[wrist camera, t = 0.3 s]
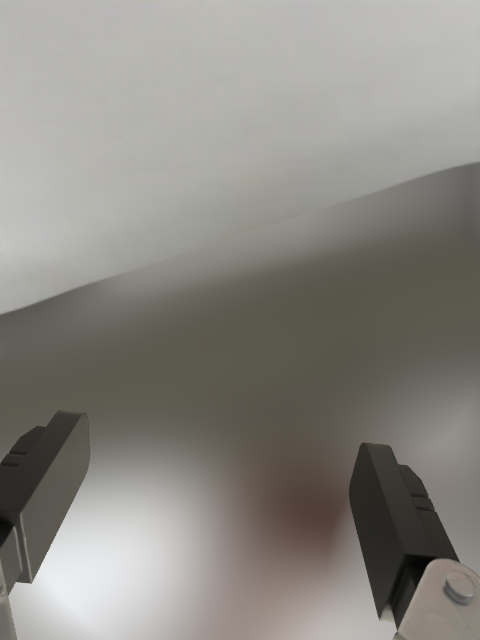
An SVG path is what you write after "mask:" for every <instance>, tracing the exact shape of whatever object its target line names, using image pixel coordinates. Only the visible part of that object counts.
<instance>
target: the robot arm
mask: <svg viewBox="0 0 480 640" xmlns="http://www.w3.org/2000/svg"><path fill="white" fill-rule="evenodd" d="M89 461H90V445H89V428H88V416H87V414H86V413H83V412H73V411H64V410H59V411H58V412H57V413H56V414H55V416H54V417H53V418H52V420H51V421H50V422H49V424H48V425H47V427H41V426H36V427H35V428H33V429H32V430H30V431H29V432H27V433H26V434H24V435H23V436H21V437H20V438H19V440H18V441H17V442H16V444H15V445H14V446H13V447H12V449H11V450H10V453H9V454H7V455H6V457H5V458H4V459H3V460H2V462H1V464H0V640H17V637H16V632H15V628H14V623H13V618H12V613H11V608H10V603H9V598H8V595H9V594H10V592H11V590H12V588H13V586H14V584H15V582H21V583H32V582H33V580H34V578H35V576H36V574H37V572H38V570H39V568H40V566H41V564H42V562H43V560H44V558H45V556H46V554H47V552H48V550H49V548H50V546H51V544H52V542H53V540H54V538H55V536H56V533H57V532H58V530H59V528H60V526H61V524H62V522H63V520H64V518H65V516H66V514H67V512H68V510H69V508H70V506H71V504H72V502H73V500H74V498H75V496H76V494H77V492H78V490H79V487H80V486H81V484H82V482H83V480H84V478H85V475H86V473H87V470H88V466H89ZM349 499H350V506H351V509H352V514H353V518H354V522H355V526H356V530H357V534H358V537H359V541H360V546H361V550H362V553H363V558H364V562H365V566H366V570H367V574H368V578H369V582H370V585H371V589H372V593H373V598H374V602H375V606H376V610H377V614H378V618H379V621H389V622H395V624H396V628H397V633H396V634H395V636H394V638H393V640H480V577H479V576H478V575H477V574H476V573H475V572H474V571H473V570H471V569H470V568H468V567H467V566H465V565H463V564H461V563H460V561H459V559H458V557H457V555H456V553H455V551H454V549H453V547H452V544H451V542H450V540H449V538H448V536H447V534H446V532H445V530H444V527H443V525H442V523H441V521H440V519H439V517H438V515H437V513H436V512H435V509H434V506H433V504H432V502H431V500H430V499H428V493H427V491H426V489H425V487H424V485H423V483H422V481H421V479H420V478H419V477H418V476H417V475H416V474H415V473H414V472H413V471H412V470H411V469H410V468H409V467H408V466H407V465H398V463H397V461H396V458H395V456H394V454H393V451H392V449H391V447H390V446H389V445H382V444H381V445H380V444H372V443H362V444H361V446H360V448H359V452H358V456H357V459H356V463H355V466H354V470H353V474H352V478H351V481H350V488H349Z"/></svg>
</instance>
